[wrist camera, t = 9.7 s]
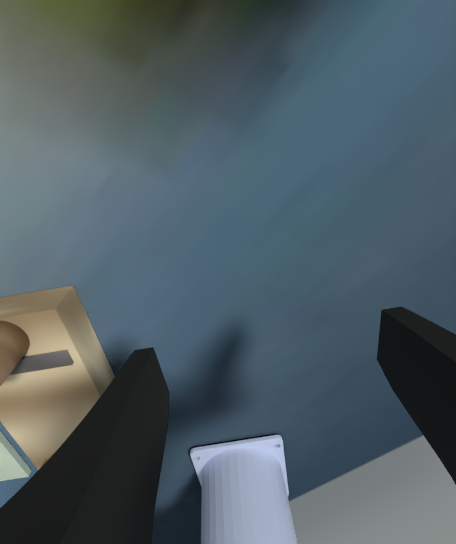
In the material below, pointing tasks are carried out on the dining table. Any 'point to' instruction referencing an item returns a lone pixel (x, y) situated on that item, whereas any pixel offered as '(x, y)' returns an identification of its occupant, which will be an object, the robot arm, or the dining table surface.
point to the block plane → (48, 369)
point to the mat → (11, 462)
